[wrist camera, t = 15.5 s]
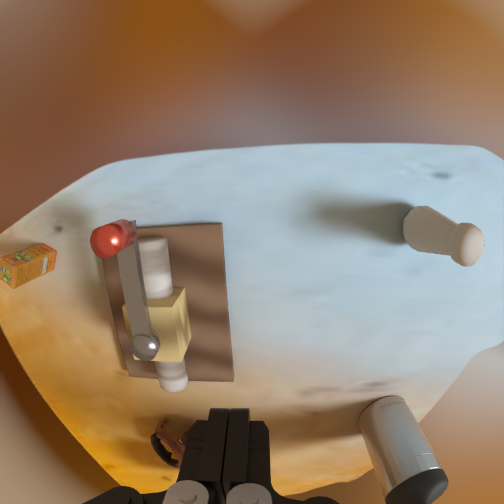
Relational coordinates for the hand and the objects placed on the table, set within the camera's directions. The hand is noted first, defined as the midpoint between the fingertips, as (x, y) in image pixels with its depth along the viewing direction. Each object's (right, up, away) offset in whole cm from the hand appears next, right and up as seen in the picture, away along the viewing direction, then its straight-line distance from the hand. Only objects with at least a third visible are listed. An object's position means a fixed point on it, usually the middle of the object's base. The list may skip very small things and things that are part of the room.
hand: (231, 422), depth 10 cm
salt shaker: (+22, +10, +25) cm, 35 cm away
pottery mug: (-10, -24, +34) cm, 43 cm away
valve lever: (-11, +3, +18) cm, 21 cm away
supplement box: (-30, +6, +27) cm, 41 cm away
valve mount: (-10, -1, +28) cm, 30 cm away
